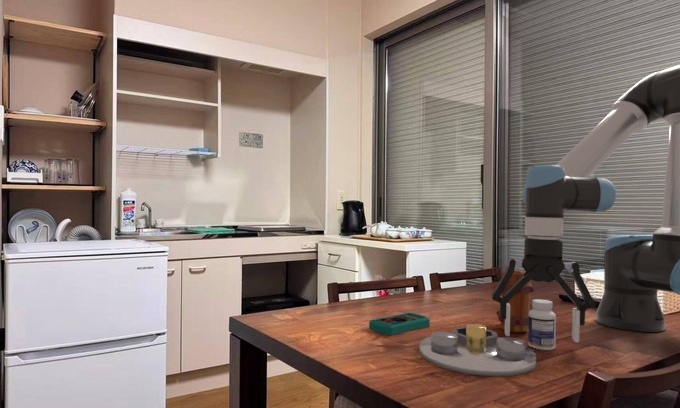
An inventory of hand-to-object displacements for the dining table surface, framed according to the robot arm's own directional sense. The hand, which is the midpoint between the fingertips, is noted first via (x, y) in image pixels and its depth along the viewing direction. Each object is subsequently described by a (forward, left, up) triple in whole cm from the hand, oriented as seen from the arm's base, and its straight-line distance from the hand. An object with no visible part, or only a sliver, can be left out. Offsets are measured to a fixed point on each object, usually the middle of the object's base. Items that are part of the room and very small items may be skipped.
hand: (540, 337), depth 99 cm
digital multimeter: (+31, -6, -3) cm, 31 cm away
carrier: (+14, +11, -2) cm, 18 cm away
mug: (+4, -15, -2) cm, 16 cm away
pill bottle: (0, 0, -2) cm, 2 cm away
